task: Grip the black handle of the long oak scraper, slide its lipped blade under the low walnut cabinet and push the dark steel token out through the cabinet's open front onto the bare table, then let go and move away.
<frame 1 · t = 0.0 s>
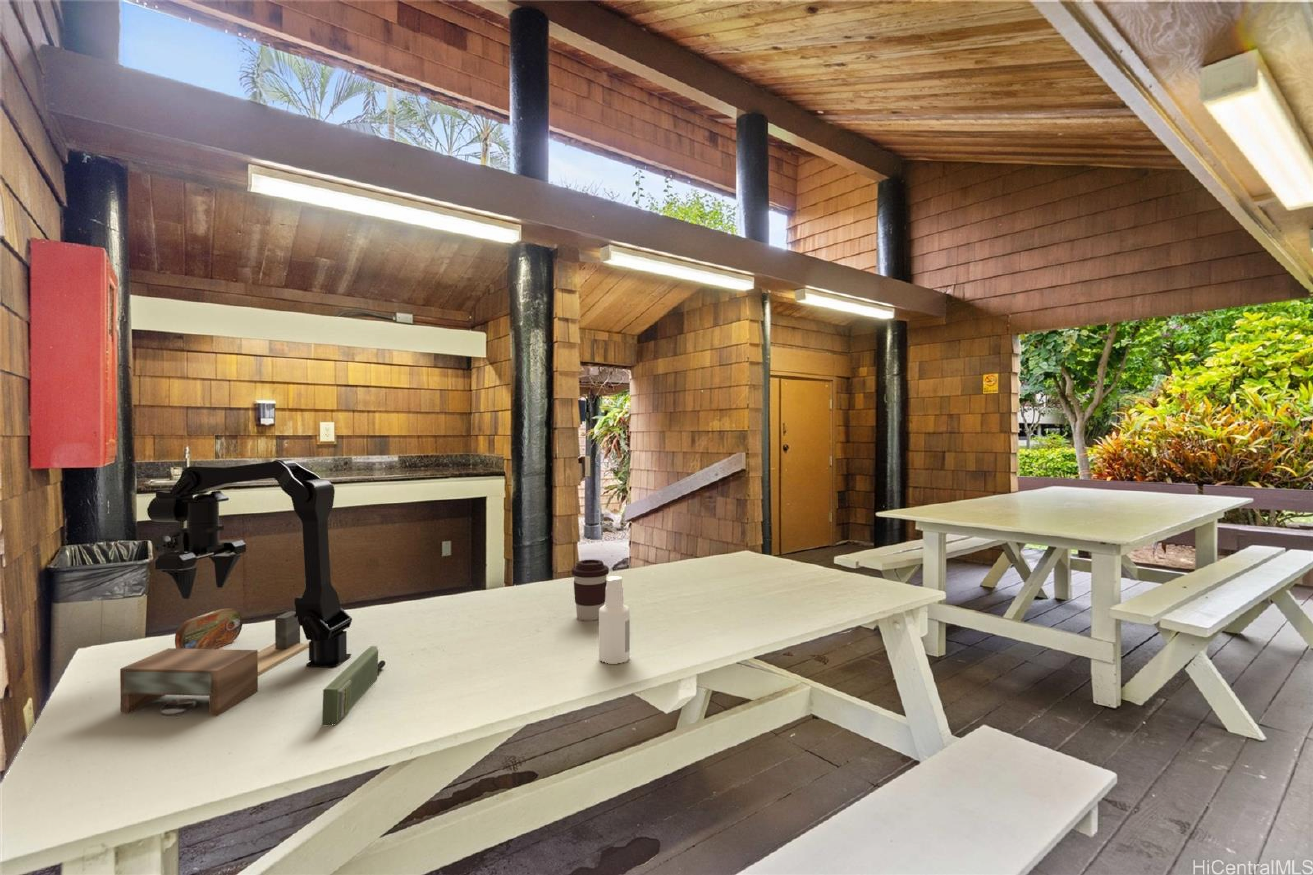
hand: (203, 592, 132), 15 cm above the table, tool pointing down, fingers open, 9 cm apart
token: (178, 711, 109), on the table
tin: (209, 650, 139), on the table
coffee cup: (590, 617, 163), on the table
scraper: (288, 649, 139), on the table
spray bottle: (614, 659, 133), on the table
handheld radio: (358, 696, 115), on the table
cabinet: (192, 701, 112), on the table
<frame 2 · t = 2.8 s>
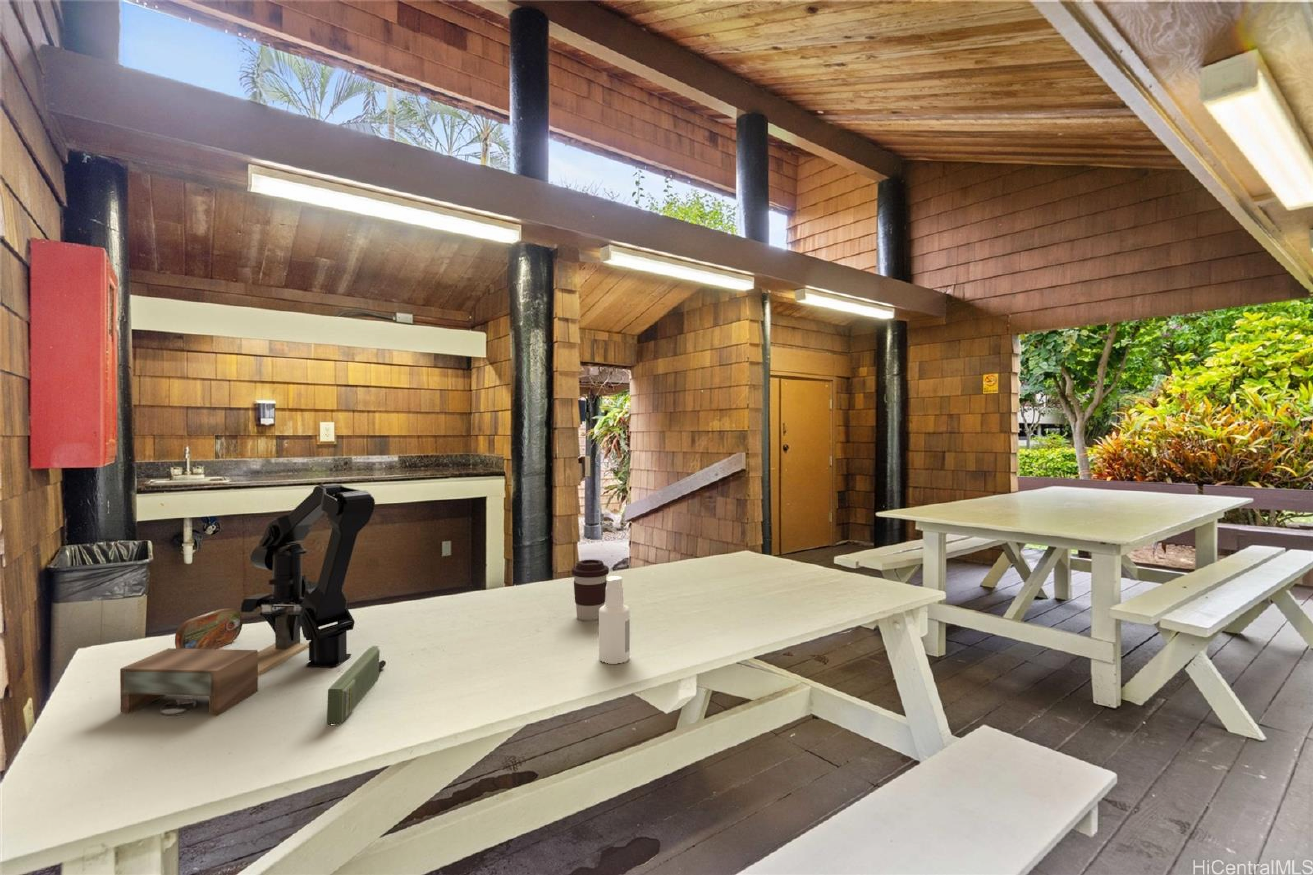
hand: (288, 640, 139), 2 cm above the table, tool pointing down, fingers closed on scraper, 2 cm apart
scraper: (288, 648, 139), on the table, touching gripper
everything else where it was.
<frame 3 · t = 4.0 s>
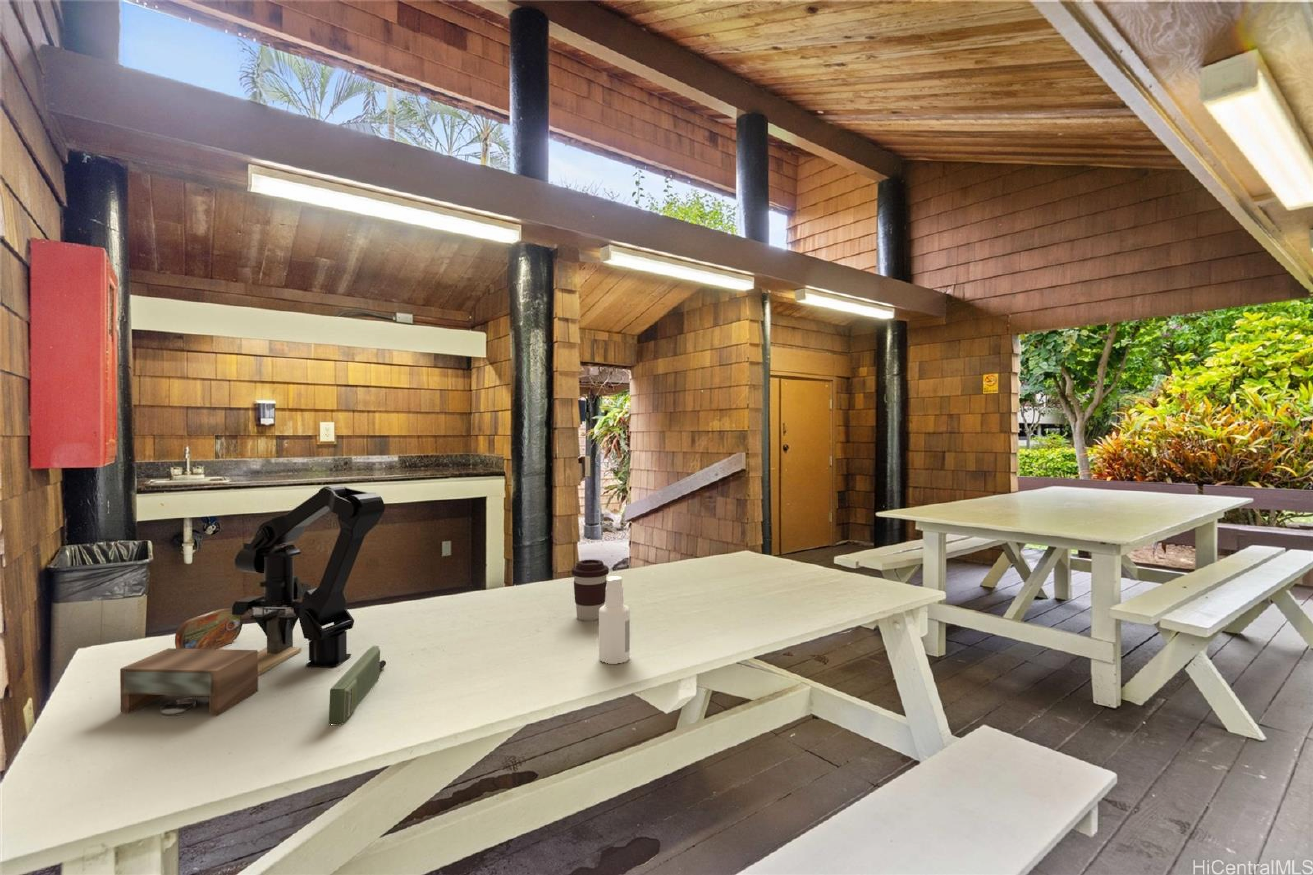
hand: (279, 643, 136), 2 cm above the table, tool pointing down, fingers closed on scraper, 2 cm apart
scraper: (280, 652, 136), on the table, touching gripper
everything else where it was.
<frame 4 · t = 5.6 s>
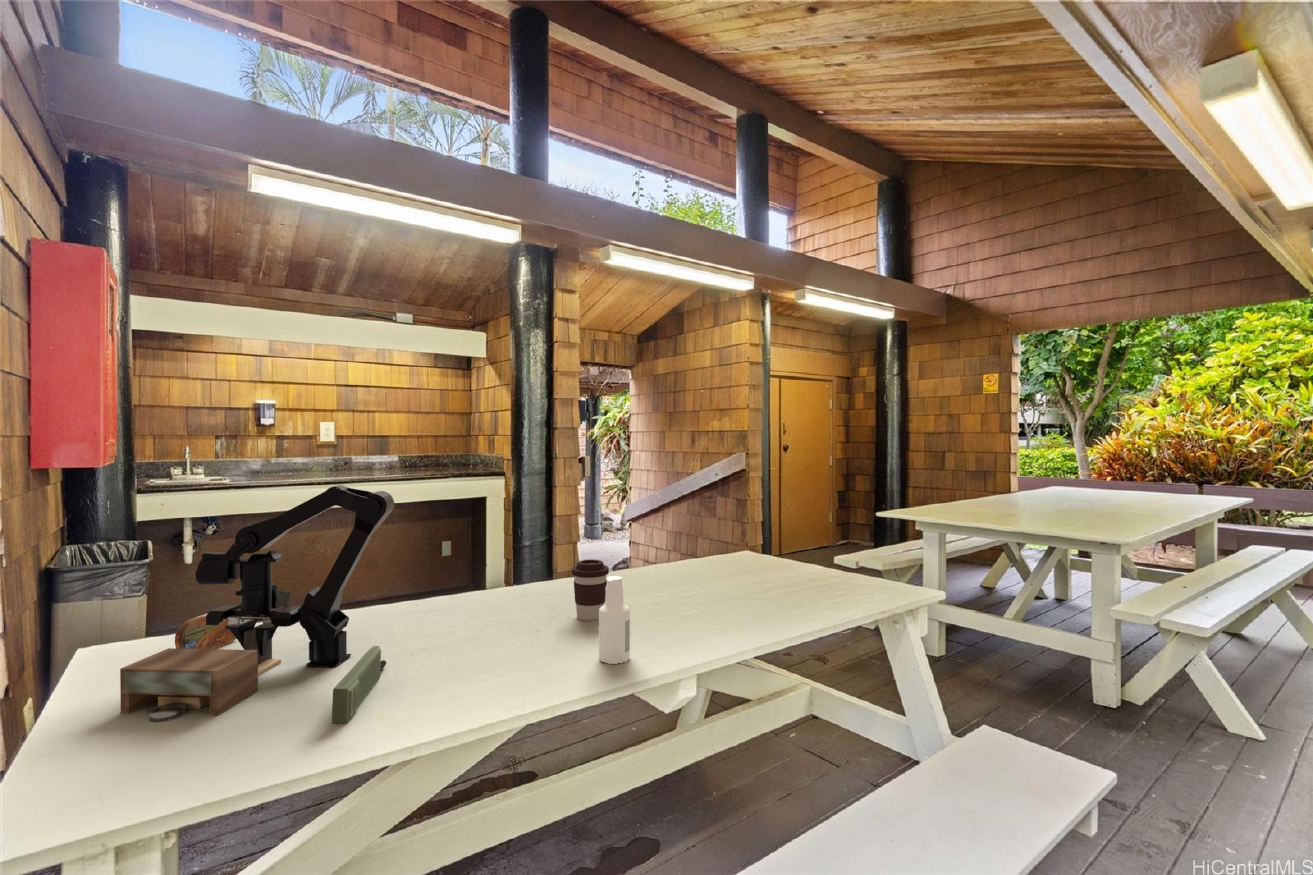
hand: (257, 655, 129), 2 cm above the table, tool pointing down, fingers closed on scraper, 2 cm apart
token: (167, 715, 107), on the table, touching scraper
scraper: (258, 665, 129), on the table, touching gripper, token
everything else where it was.
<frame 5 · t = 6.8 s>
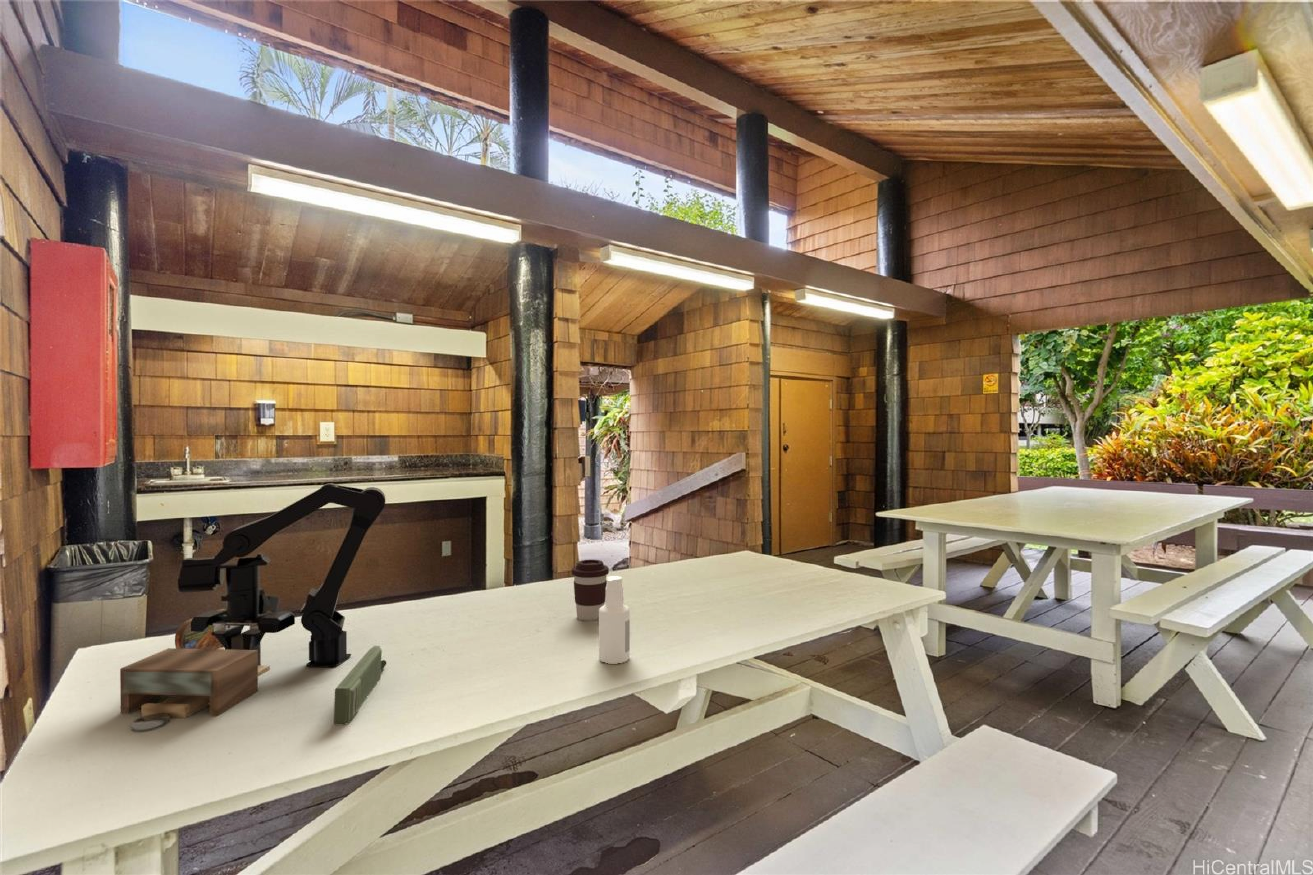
hand: (243, 662, 125), 2 cm above the table, tool pointing down, fingers closed on scraper, 2 cm apart
token: (151, 726, 103), on the table
scraper: (246, 671, 126), on the table, touching gripper
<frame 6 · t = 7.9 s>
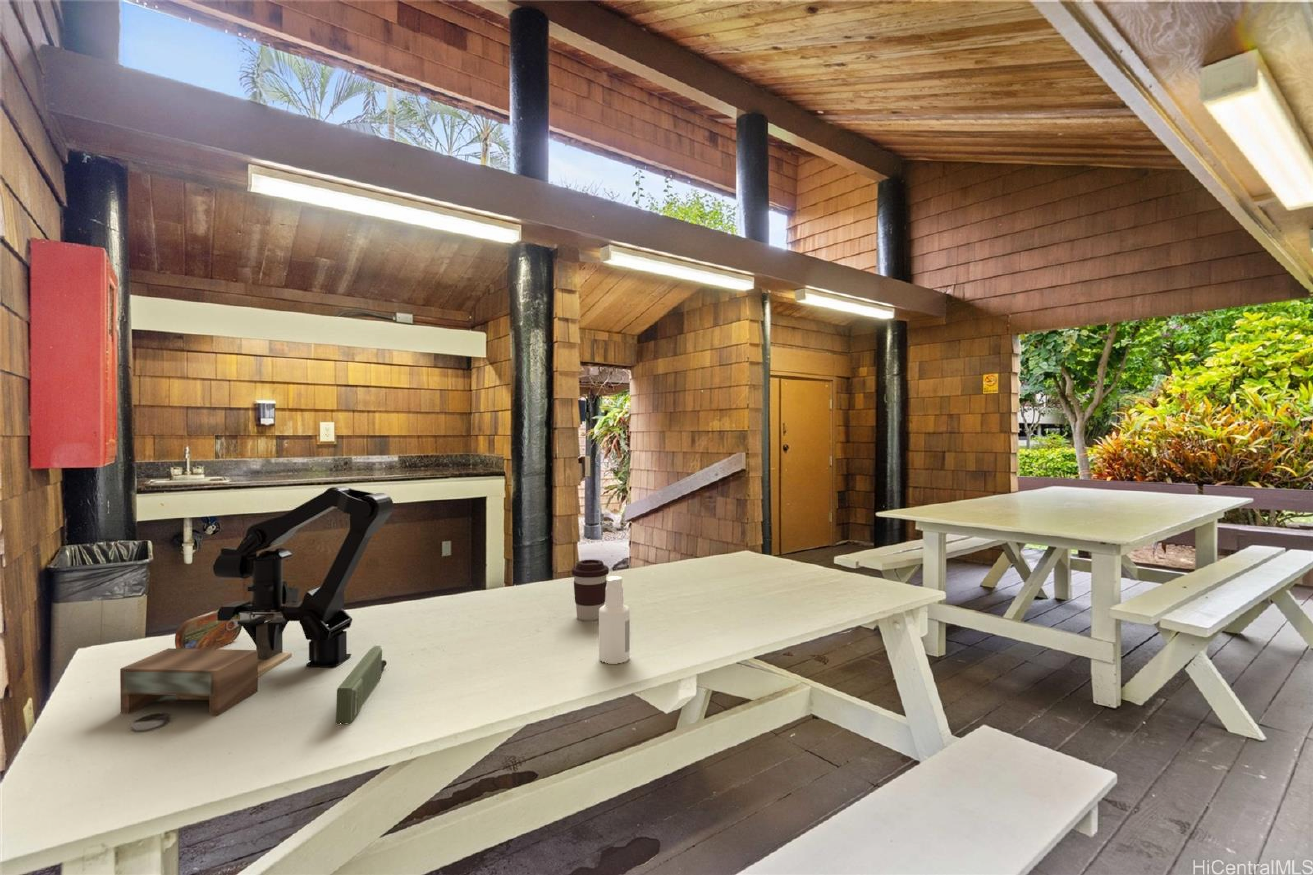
hand: (267, 649, 132), 2 cm above the table, tool pointing down, fingers closed on scraper, 2 cm apart
scraper: (269, 658, 133), on the table, touching gripper
when the fingers open (2 cm above the table, at t = 8.5 s): scraper stays where it is, on the table.
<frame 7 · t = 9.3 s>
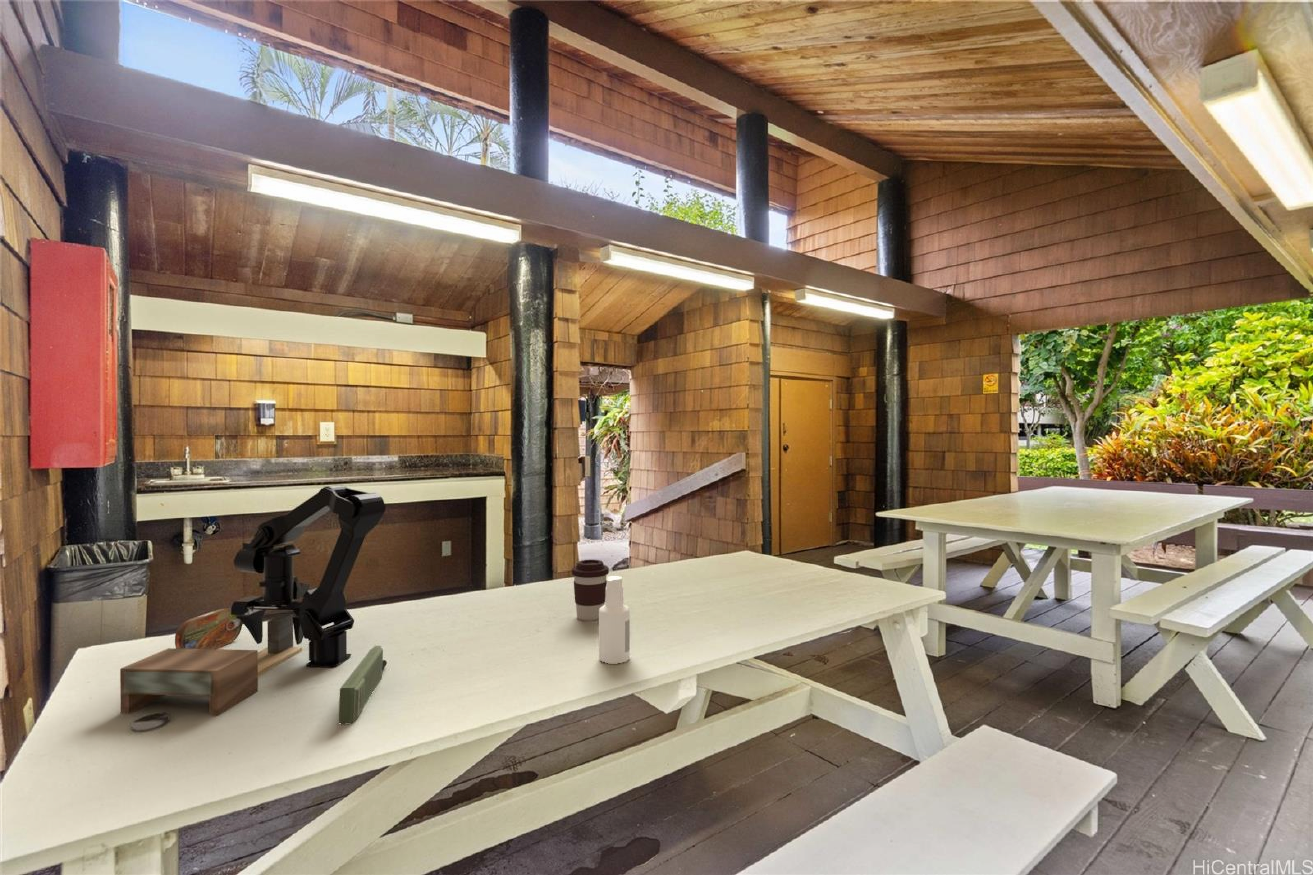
hand: (279, 643, 136), 2 cm above the table, tool pointing down, fingers open, 9 cm apart
scraper: (280, 653, 136), on the table
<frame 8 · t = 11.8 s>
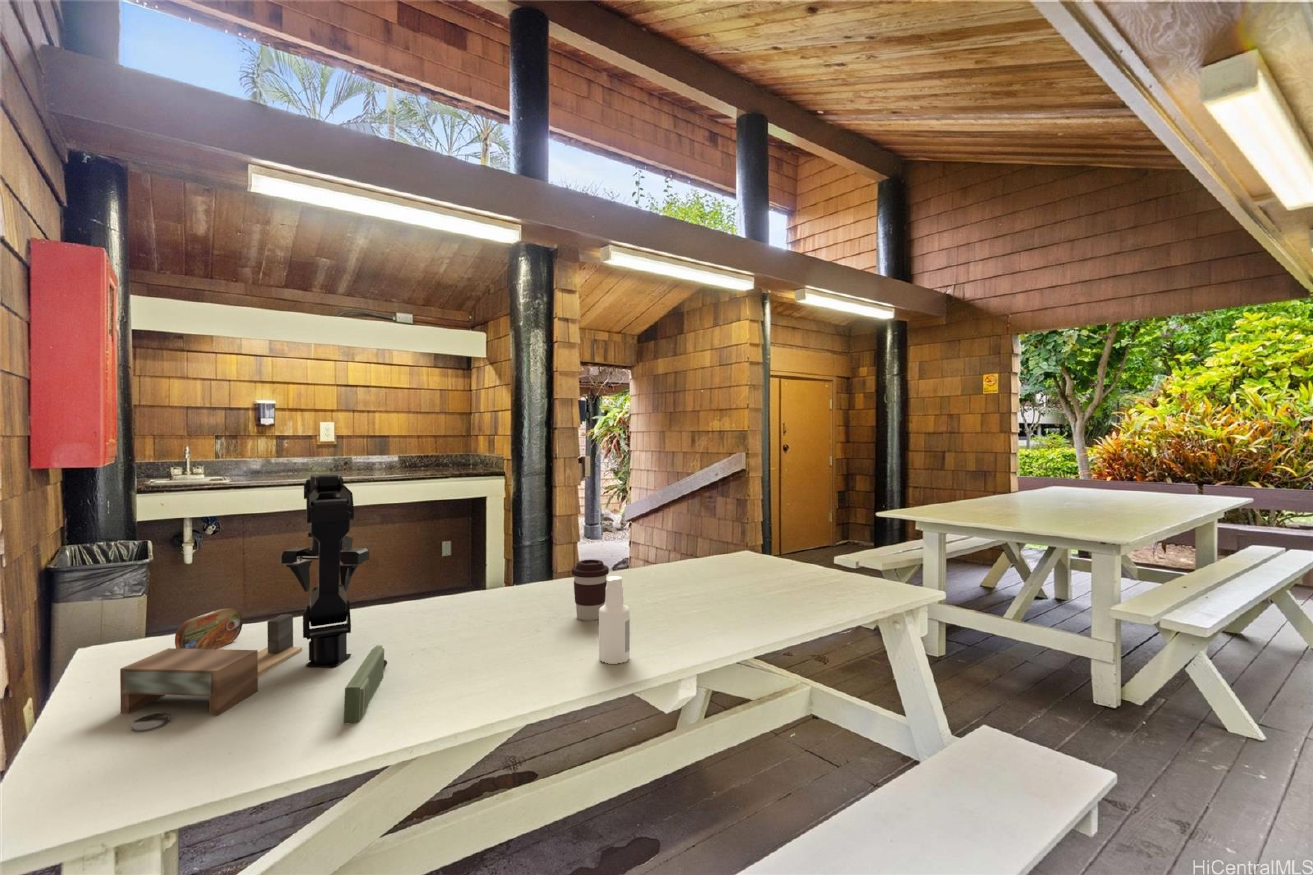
hand: (325, 591, 143), 12 cm above the table, tool pointing down, fingers open, 9 cm apart
at the end: token inside the target area (5.6 cm from its centre), on the table; token tilted 0°; the gripper is holding nothing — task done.
